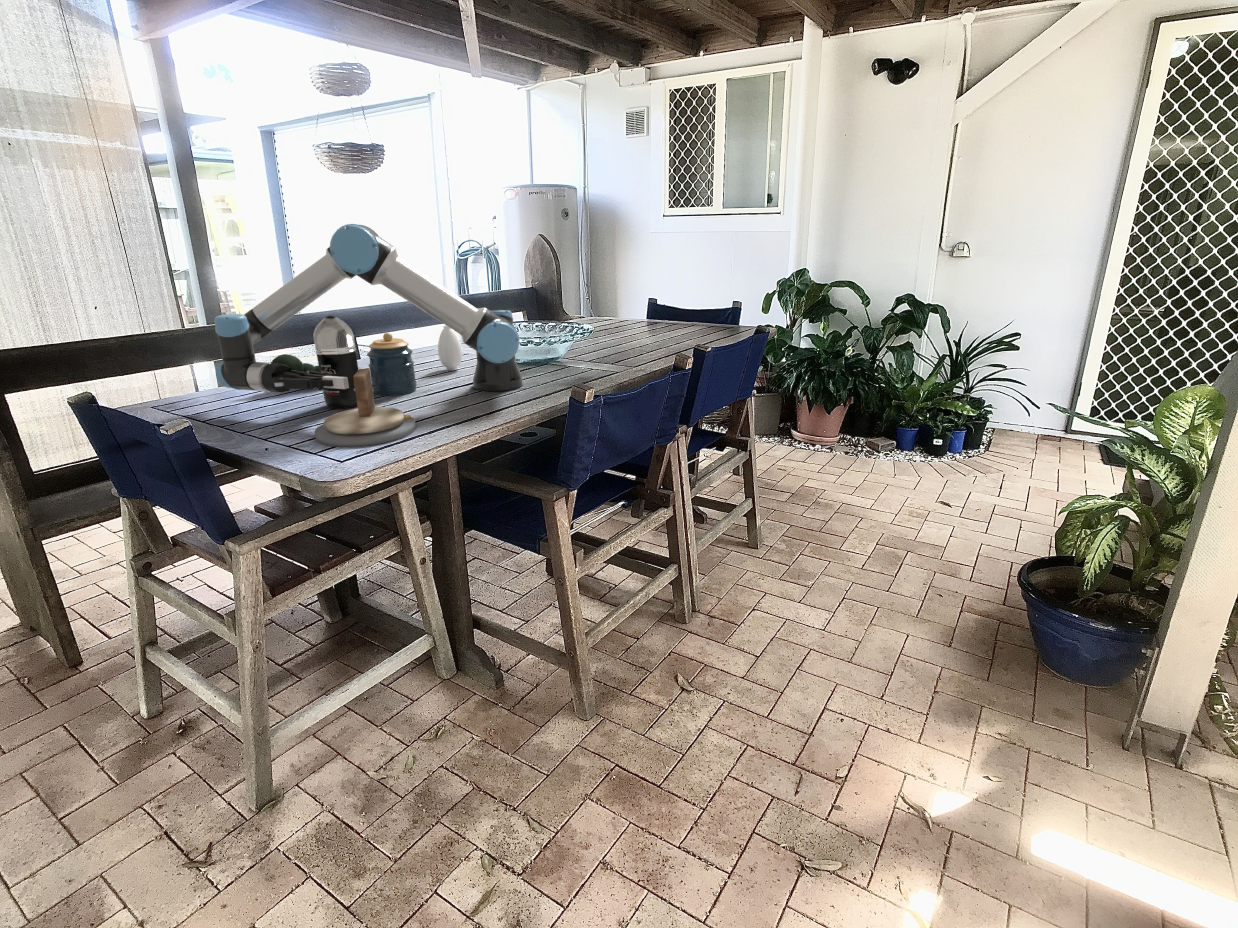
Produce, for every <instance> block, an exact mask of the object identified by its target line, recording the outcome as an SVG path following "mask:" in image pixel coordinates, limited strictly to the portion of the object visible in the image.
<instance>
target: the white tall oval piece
mask: <svg viewBox="0 0 1238 928" xmlns="http://www.w3.org/2000/svg"><path fill="white" fill-rule="evenodd" d="M437 343H438V344H437V353H438V358H439V361H440V364H441V365H442V366H443V367H444V368H446V370H448V371H449V372H450V371H455V370H456V369H458V367H460V365H461V363H462V360H463V348H462V344H461V341H460V338H459V336H458V335H457V332H456V331H454V330H453V329H451V328H450V327H448V326H446V325H445V324H443V329H442V330H441V332H440V334H439V338H438V342H437Z"/></svg>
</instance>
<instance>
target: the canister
mask: <svg viewBox="0 0 1238 928" xmlns="http://www.w3.org/2000/svg"><path fill="white" fill-rule="evenodd" d="M409 344H410V343H409V342H408V341H405V340H404V339H403V338H399V337H398V338H396V337H395V338H393V334H392V333H390V332H384V333H383V336H382V338H381V339H376V340H373V341H372V343H370V344H368V347H369V348H370V350H369V351H368V352H367V353H366V356H367V357H368V359H369V364H368V367H369V368H368V369H370V376H371V383H372V389H373V394H375V395H377V396H400V395H406V394H410V393H412V392H415V391H416V390H417V380H416V375H415V366H414V364H415V362H414V361H413V359H412V354H413V350H412V349H411V348H409V347H408V346H409Z"/></svg>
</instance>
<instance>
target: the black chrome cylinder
mask: <svg viewBox="0 0 1238 928" xmlns="http://www.w3.org/2000/svg"><path fill="white" fill-rule="evenodd" d="M312 335H313V337H312V338H313V343H314V347H315V349H314V350H315V354H316V359H317V366H319V371H320V372H324V373H327V372H328V373H330V374H331V376H337V377H347V378H348V385H349V388H347V389H336V388H324V386H322V387H323V390H322V393H323V399H324V404H325V405H326V407H328V408H330V409H335V410H342V409H344V410H345V409H352V408H355V407H358V405H357V399H356V393H355V386H354V380H353V376H354V375H355V374H356V372H357V371H358V370H359V363H358V358H357V352H356V351H357V348H356V344H355V342H356V341H355V337H354V336H355V335H354V333H353V330H352V328H351V327H350V326H349V325H348V324H347V323H346V322H344V321H343V320H342V319H340V318H338V317H336V315H334V314H328V315H326V316H325V317H324V318H323V319H322V320H321V321H320V322H319V323H318V324H317V325H316V326H315V329H314V330H313V334H312Z"/></svg>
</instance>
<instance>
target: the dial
mask: <svg viewBox="0 0 1238 928" xmlns="http://www.w3.org/2000/svg"><path fill="white" fill-rule="evenodd" d="M353 380H354V386H355V393H356V399H357V405H358V406H357V408H354V409H353V408H352V409H349V410H344V411H340V412H336V413H334V414H332V415H329V416H327V417H326V418H325V419H324V420H323V421H324V423H325V428H326V430H327V431H329V432H332V433H338V434H364V433H372V432H378V431H383V430H387V429H390V428H393V427H396V426H398V425H400V424H401V423H402V422H403V421H404V415H405V414H404V412H403V411H402V410H401V409H398V408H394V407H387V406H386V407H384V406H381V407H380V406H376V404H375V398H374V392H373V389H372V381H371V375H370V368H358V371H357V372H356V374H355V375H354V376H353ZM324 423H323V424H324Z"/></svg>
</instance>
